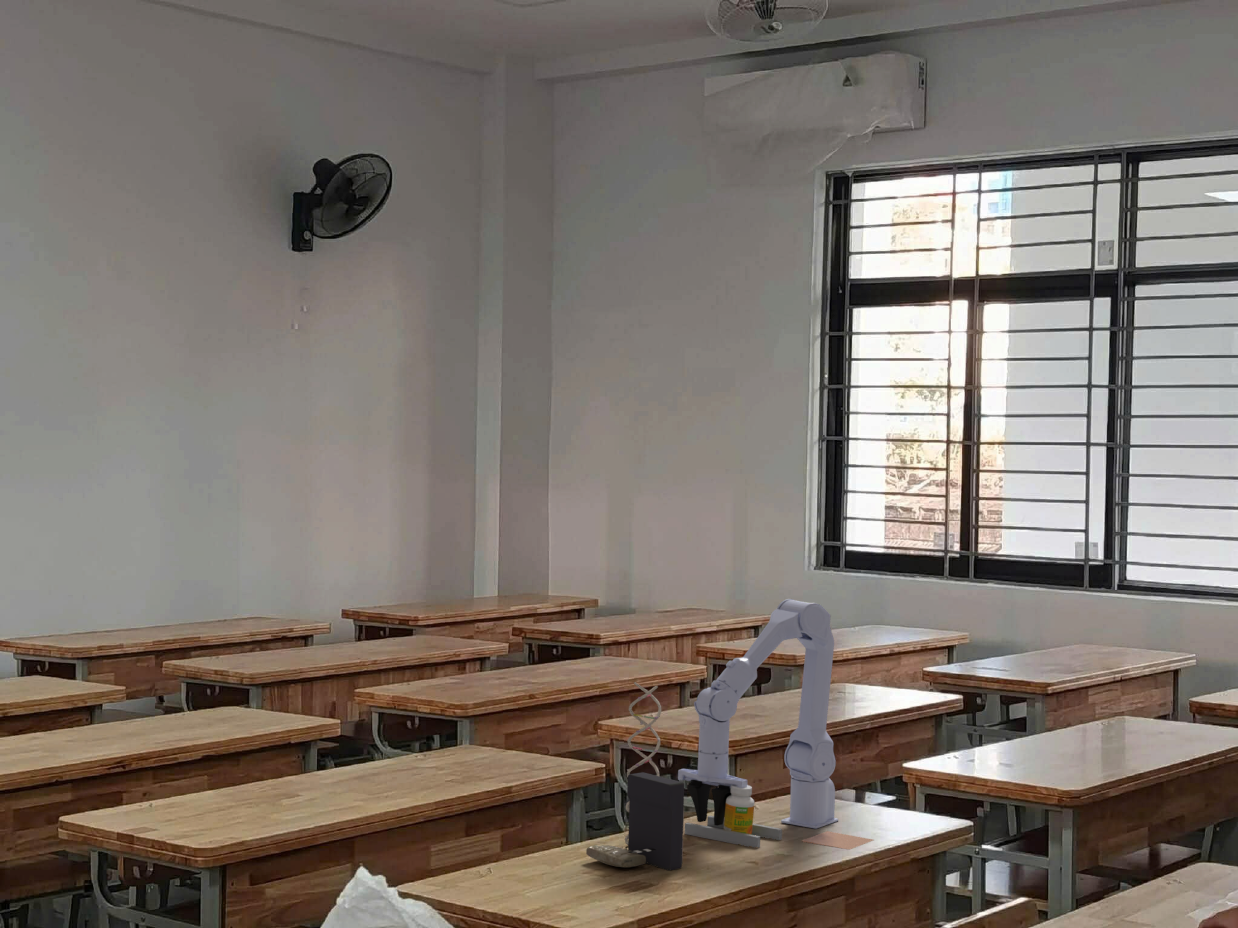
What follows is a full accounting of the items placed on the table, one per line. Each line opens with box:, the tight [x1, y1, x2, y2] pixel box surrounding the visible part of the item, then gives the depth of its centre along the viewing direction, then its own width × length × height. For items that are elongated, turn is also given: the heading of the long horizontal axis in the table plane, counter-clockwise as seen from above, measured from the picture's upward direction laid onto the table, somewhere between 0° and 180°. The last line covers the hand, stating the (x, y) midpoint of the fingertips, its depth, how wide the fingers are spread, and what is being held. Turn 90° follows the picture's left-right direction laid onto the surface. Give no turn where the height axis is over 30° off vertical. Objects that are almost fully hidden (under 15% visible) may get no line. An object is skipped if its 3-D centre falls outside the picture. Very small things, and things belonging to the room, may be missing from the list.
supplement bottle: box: [724, 784, 755, 835], centre depth 293 cm, size 5×5×10 cm
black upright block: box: [626, 771, 685, 872], centre depth 273 cm, size 11×4×15 cm, turn 42°
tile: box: [801, 830, 874, 851], centre depth 292 cm, size 10×10×1 cm
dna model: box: [624, 681, 662, 846], centre depth 283 cm, size 7×6×30 cm
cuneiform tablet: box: [586, 844, 656, 868], centre depth 270 cm, size 6×4×12 cm
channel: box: [684, 815, 783, 848], centre depth 294 cm, size 9×16×2 cm, turn 54°
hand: (710, 822), depth 297 cm, fingers open, 3 cm apart
